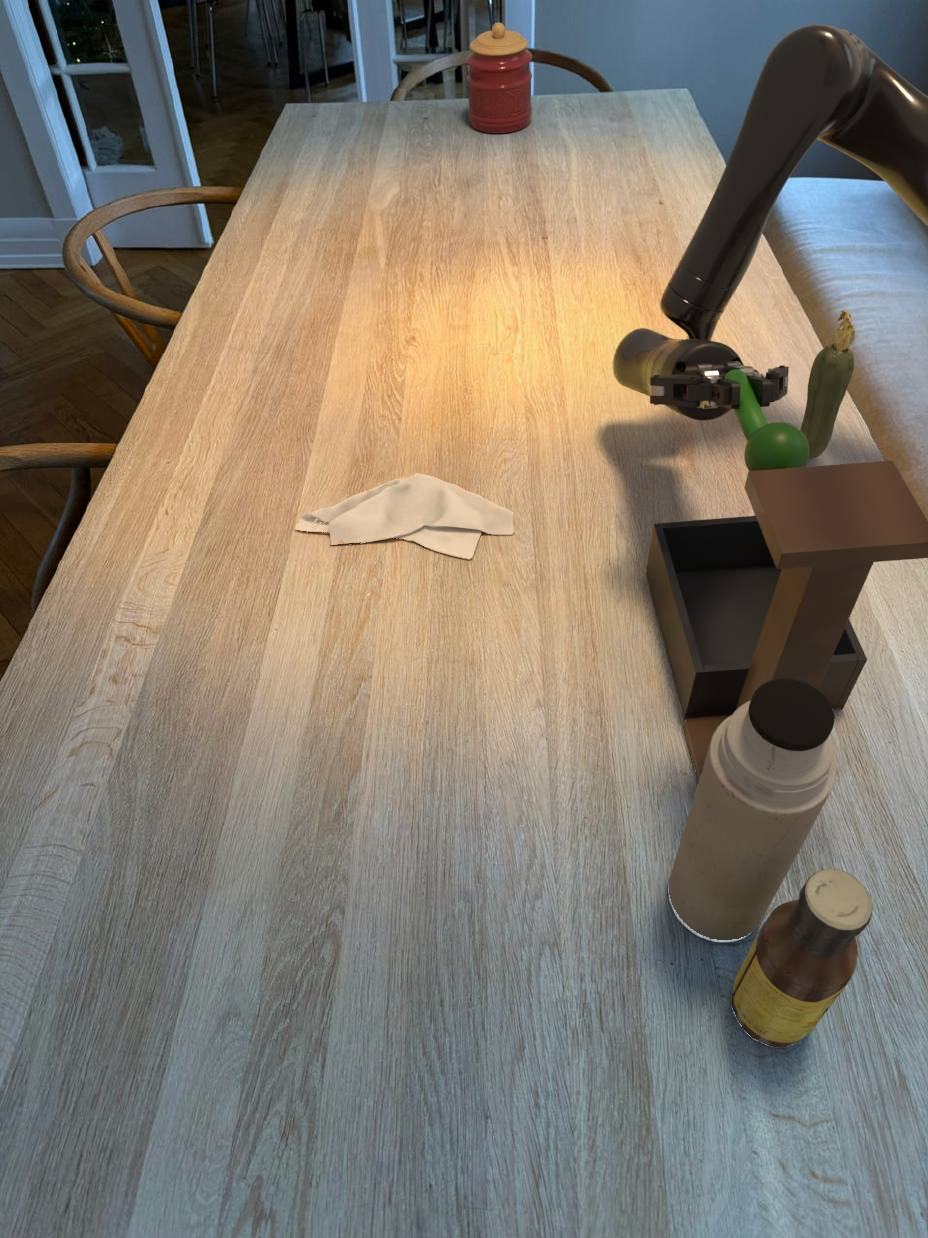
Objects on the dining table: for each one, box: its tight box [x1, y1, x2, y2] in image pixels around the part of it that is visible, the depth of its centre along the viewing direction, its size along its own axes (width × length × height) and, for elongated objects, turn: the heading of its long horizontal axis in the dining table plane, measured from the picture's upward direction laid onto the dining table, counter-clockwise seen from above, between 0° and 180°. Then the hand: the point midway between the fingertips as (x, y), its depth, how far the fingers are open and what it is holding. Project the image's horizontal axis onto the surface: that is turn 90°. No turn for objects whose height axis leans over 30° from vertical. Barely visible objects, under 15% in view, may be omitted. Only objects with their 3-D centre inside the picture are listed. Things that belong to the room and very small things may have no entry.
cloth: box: [294, 472, 515, 561], centre depth 106 cm, size 26×14×2 cm, turn 77°
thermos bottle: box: [668, 679, 837, 940], centre depth 63 cm, size 8×8×28 cm
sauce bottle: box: [730, 868, 874, 1048], centre depth 61 cm, size 6×6×20 cm
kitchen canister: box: [465, 22, 533, 134], centre depth 175 cm, size 13×13×18 cm
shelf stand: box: [683, 460, 928, 783], centre depth 70 cm, size 10×8×32 cm
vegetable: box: [800, 309, 856, 461], centre depth 101 cm, size 4×4×20 cm
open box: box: [645, 515, 868, 721], centre depth 89 cm, size 16×20×8 cm
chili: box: [724, 369, 809, 472], centre depth 71 cm, size 5×17×5 cm, turn 3°
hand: (751, 394), depth 73 cm, fingers closed on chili
